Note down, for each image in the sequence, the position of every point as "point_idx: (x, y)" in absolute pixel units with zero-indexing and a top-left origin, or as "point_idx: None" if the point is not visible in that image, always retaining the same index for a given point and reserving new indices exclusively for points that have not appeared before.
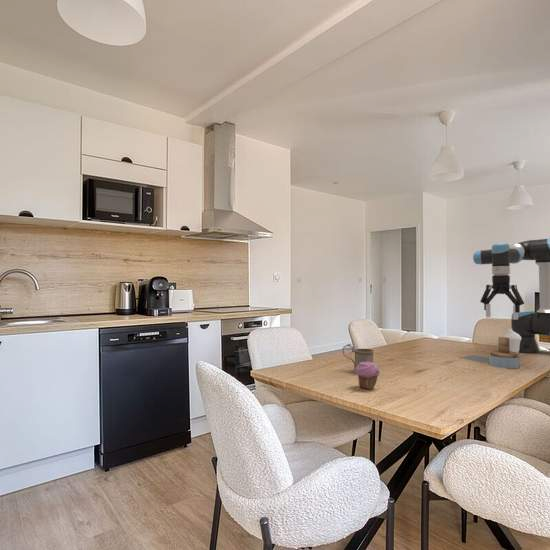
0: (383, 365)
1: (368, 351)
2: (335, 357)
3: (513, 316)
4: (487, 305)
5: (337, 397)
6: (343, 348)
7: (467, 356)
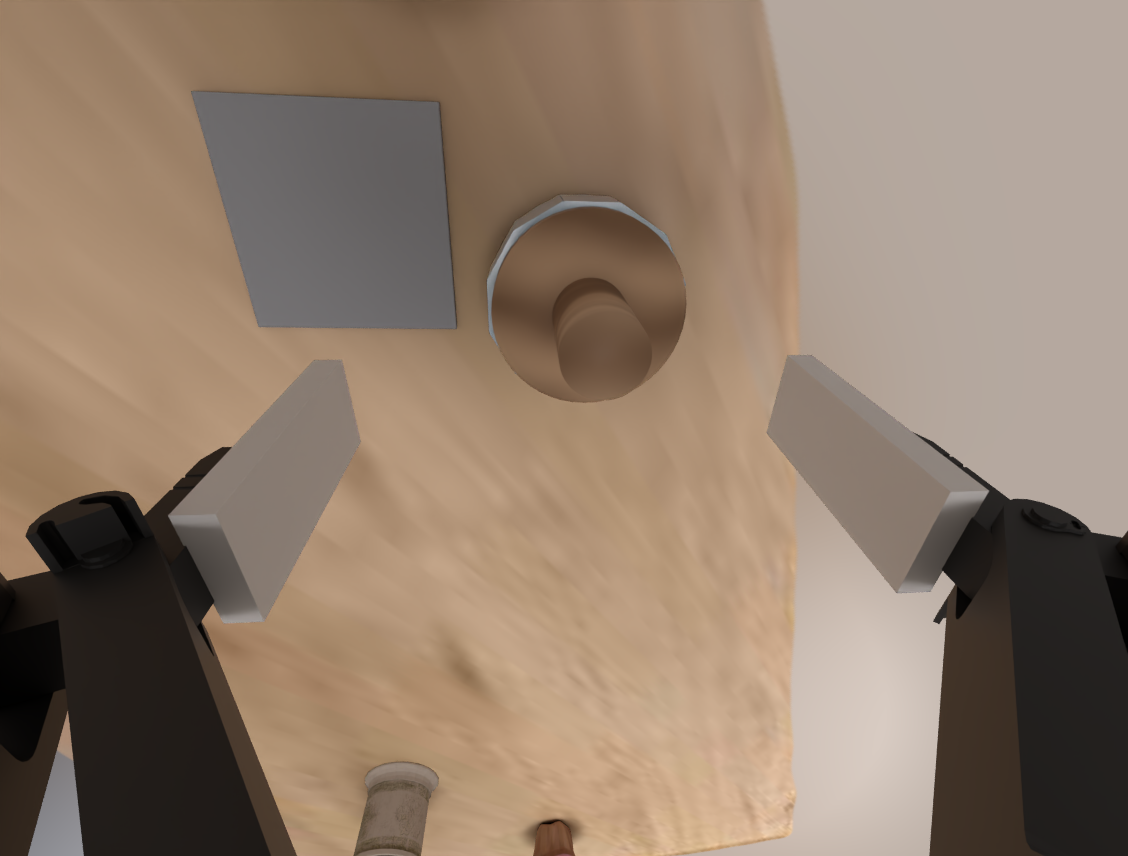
0: (332, 710)
1: (371, 845)
2: None
3: (790, 456)
4: (273, 588)
5: None
6: None
7: (239, 222)
